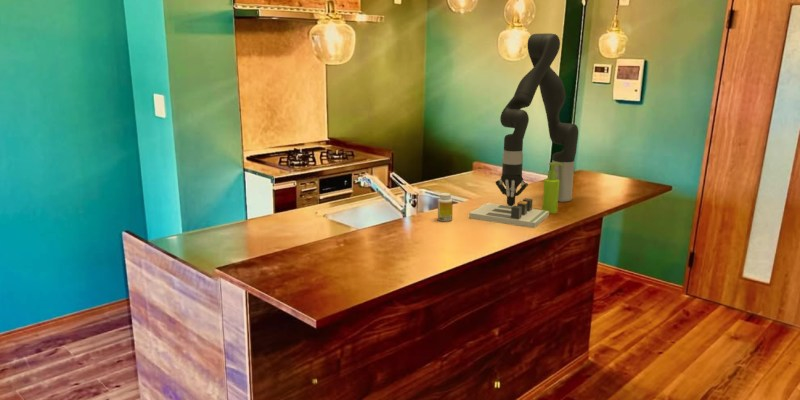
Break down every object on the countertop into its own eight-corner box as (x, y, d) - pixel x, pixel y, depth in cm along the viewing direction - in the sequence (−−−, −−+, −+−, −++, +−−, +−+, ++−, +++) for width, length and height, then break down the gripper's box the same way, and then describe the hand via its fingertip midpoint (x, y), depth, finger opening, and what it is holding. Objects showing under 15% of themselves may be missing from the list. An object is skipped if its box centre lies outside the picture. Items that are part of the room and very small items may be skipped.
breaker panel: (486, 207, 233) (486, 202, 232) (548, 216, 220) (548, 210, 220) (469, 217, 218) (469, 212, 217) (534, 227, 205) (534, 222, 205)
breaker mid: (519, 211, 218) (519, 200, 217) (526, 212, 216) (527, 201, 215) (516, 213, 215) (517, 202, 214) (524, 214, 214) (525, 203, 213)
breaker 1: (513, 215, 213) (514, 205, 212) (521, 216, 211) (521, 206, 210) (510, 217, 210) (511, 207, 209) (518, 218, 209) (519, 208, 208)
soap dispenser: (560, 214, 223) (563, 164, 218) (542, 213, 224) (545, 164, 219) (559, 210, 229) (562, 161, 224) (541, 209, 230) (545, 161, 225)
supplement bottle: (454, 221, 214) (455, 195, 211) (441, 222, 212) (441, 196, 209) (448, 217, 219) (449, 191, 216) (435, 218, 217) (435, 193, 215)
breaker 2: (524, 207, 223) (525, 198, 222) (531, 208, 222) (532, 199, 221) (522, 209, 221) (522, 199, 220) (529, 210, 219) (530, 200, 218)
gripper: (532, 161, 214) (530, 205, 218) (499, 158, 220) (498, 201, 225) (526, 165, 208) (524, 210, 212) (492, 162, 214) (491, 205, 219)
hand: (510, 205), depth 219 cm, fingers closed
